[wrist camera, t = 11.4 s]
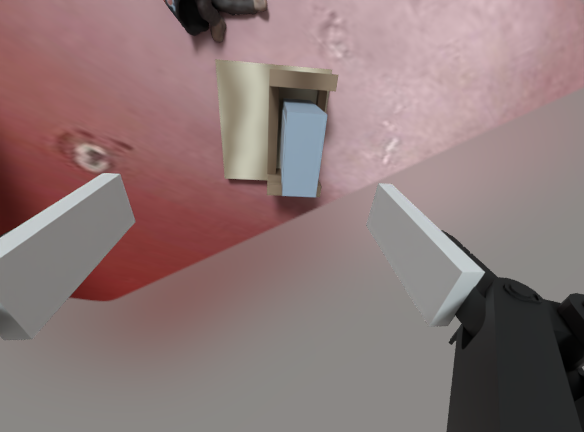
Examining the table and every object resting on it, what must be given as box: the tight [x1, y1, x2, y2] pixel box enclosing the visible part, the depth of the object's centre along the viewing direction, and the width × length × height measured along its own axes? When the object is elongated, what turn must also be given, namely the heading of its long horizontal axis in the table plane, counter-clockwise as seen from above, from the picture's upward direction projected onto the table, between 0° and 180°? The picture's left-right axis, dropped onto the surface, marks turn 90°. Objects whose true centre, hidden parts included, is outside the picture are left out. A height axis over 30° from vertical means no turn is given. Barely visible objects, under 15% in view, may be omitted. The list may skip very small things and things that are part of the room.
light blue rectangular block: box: [280, 98, 327, 197], centre depth 27 cm, size 8×4×12 cm, turn 176°
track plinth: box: [215, 59, 338, 197], centre depth 30 cm, size 14×15×8 cm
